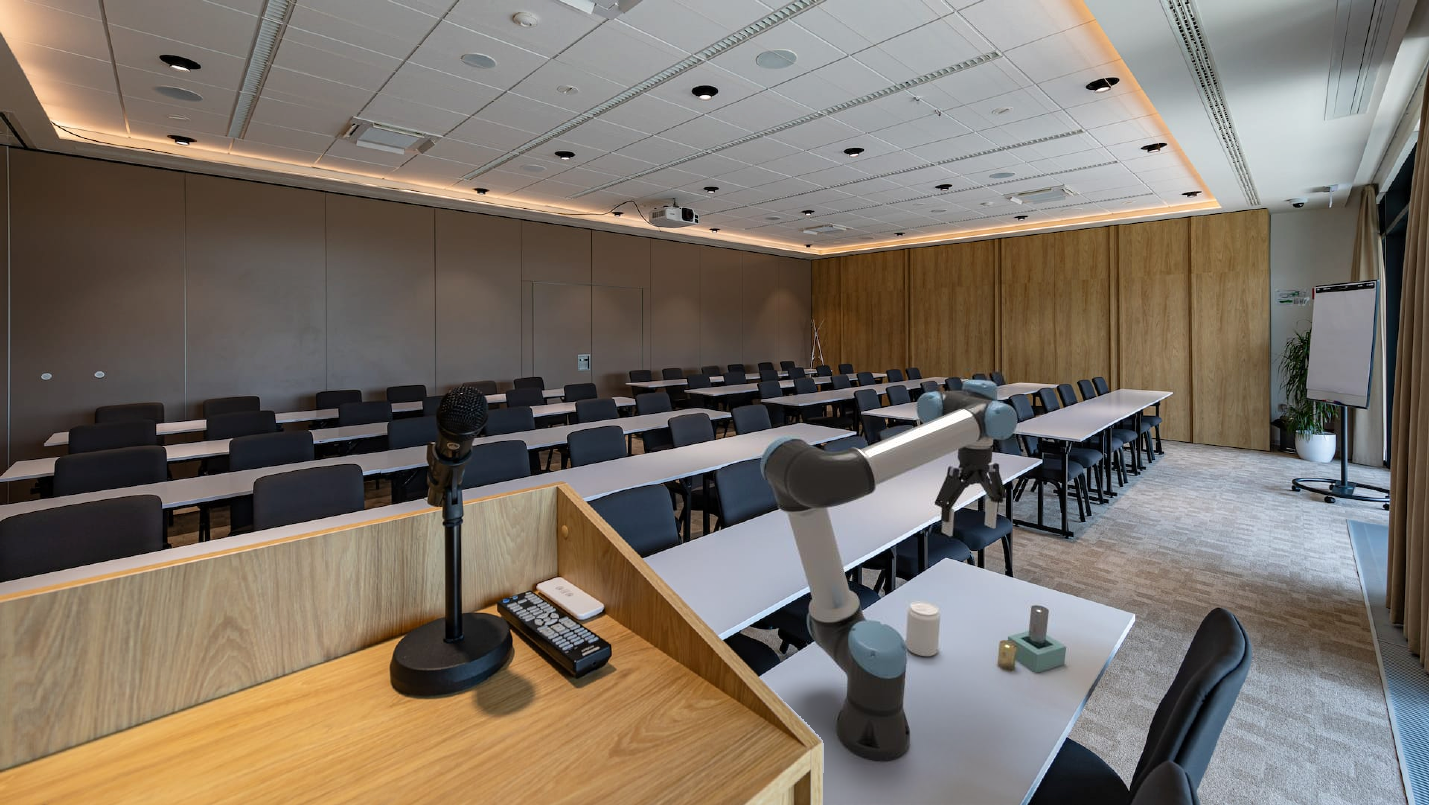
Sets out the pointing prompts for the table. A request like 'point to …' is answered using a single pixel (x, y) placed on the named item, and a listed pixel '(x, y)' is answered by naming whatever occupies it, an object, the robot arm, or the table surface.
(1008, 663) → the short pin
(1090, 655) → the table surface
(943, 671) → the table surface
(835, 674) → the table surface
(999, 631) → the table surface
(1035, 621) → the long pin
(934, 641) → the beverage can
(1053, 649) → the hole block
